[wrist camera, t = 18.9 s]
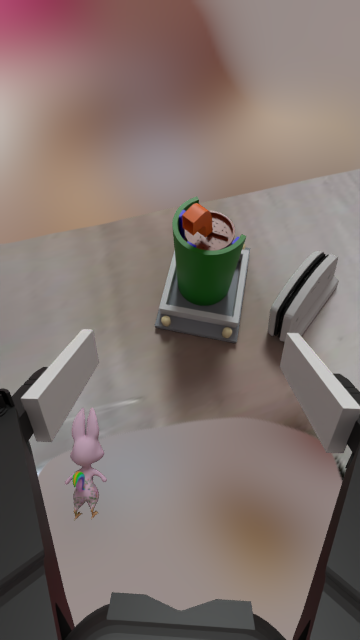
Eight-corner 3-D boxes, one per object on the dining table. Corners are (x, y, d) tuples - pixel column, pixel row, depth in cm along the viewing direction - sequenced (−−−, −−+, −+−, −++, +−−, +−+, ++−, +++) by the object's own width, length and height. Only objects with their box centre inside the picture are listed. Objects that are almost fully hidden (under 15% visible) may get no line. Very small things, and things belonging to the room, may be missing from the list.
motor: (236, 279, 47) (267, 193, 28) (212, 315, 44) (227, 248, 25) (192, 255, 49) (193, 161, 30) (167, 288, 47) (151, 208, 28)
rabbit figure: (111, 506, 37) (110, 404, 40) (97, 532, 31) (96, 411, 34) (71, 508, 37) (73, 407, 40) (50, 535, 31) (53, 414, 34)
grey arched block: (291, 350, 43) (295, 320, 35) (267, 337, 45) (266, 307, 37) (337, 285, 47) (351, 245, 39) (313, 276, 49) (321, 237, 41)
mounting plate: (155, 327, 45) (152, 320, 42) (178, 241, 52) (177, 229, 48) (235, 343, 43) (239, 337, 40) (248, 251, 50) (253, 240, 47)
